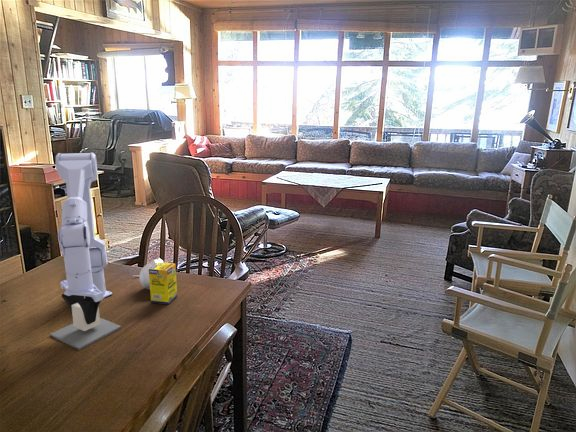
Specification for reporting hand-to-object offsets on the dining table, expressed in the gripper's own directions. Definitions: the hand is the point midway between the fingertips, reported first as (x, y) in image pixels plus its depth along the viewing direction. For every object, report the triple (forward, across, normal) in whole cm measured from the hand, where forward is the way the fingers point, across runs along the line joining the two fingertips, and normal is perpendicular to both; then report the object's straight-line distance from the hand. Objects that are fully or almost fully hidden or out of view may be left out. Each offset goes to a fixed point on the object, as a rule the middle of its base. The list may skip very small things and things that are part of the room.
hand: (84, 319), depth 108 cm
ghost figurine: (+4, -5, +28) cm, 29 cm away
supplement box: (+4, +3, +24) cm, 24 cm away
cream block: (+2, 0, 0) cm, 2 cm away
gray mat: (+3, 0, 0) cm, 3 cm away
